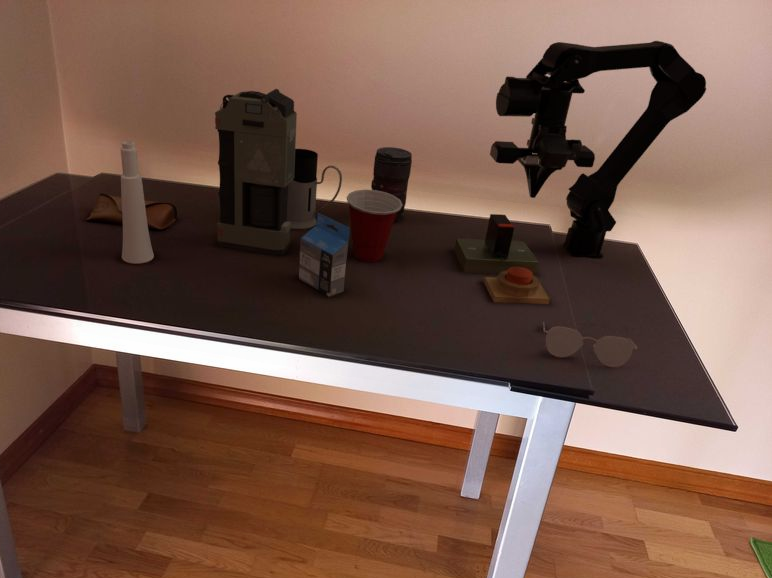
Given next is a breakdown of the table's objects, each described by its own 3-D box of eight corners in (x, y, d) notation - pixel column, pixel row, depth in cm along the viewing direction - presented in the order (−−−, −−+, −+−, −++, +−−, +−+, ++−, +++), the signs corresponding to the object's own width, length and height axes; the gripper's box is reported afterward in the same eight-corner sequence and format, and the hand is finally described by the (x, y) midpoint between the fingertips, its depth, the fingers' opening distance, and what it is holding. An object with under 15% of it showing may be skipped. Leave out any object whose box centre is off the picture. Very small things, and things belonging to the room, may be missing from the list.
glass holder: (288, 211, 158) (291, 145, 150) (345, 224, 153) (351, 156, 145) (270, 223, 152) (271, 155, 144) (329, 237, 147) (334, 167, 139)
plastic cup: (367, 272, 133) (374, 212, 126) (330, 253, 140) (334, 195, 133) (406, 259, 139) (414, 201, 133) (369, 241, 146) (375, 185, 139)
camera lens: (392, 227, 153) (400, 159, 145) (362, 217, 157) (368, 151, 149) (410, 217, 159) (419, 152, 151) (381, 208, 163) (387, 144, 155)
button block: (535, 284, 132) (539, 270, 130) (548, 304, 125) (552, 289, 123) (483, 282, 132) (486, 268, 130) (493, 302, 125) (496, 287, 123)
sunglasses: (538, 353, 110) (545, 324, 108) (537, 335, 118) (544, 308, 116) (631, 370, 107) (640, 341, 105) (624, 351, 115) (632, 323, 113)
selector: (484, 242, 141) (490, 212, 137) (499, 242, 141) (505, 213, 137) (492, 256, 135) (499, 226, 131) (508, 257, 135) (514, 226, 131)
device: (293, 243, 143) (299, 91, 127) (282, 258, 136) (287, 99, 121) (228, 233, 146) (227, 83, 130) (215, 247, 139) (211, 91, 124)
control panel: (520, 253, 144) (523, 239, 143) (535, 277, 135) (539, 262, 133) (453, 250, 144) (455, 236, 142) (464, 274, 134) (467, 259, 133)
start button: (526, 275, 129) (528, 267, 128) (533, 286, 125) (535, 277, 124) (503, 274, 129) (505, 266, 128) (509, 285, 125) (511, 276, 124)
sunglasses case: (82, 219, 147) (87, 188, 147) (97, 225, 154) (102, 195, 154) (163, 230, 144) (167, 198, 144) (174, 235, 151) (179, 205, 151)
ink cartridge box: (297, 279, 129) (300, 216, 122) (313, 274, 131) (317, 211, 125) (328, 297, 123) (333, 232, 117) (345, 292, 125) (350, 227, 119)
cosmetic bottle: (145, 248, 137) (136, 136, 125) (159, 259, 133) (151, 144, 121) (116, 255, 134) (104, 140, 122) (129, 266, 130) (118, 149, 118)
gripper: (512, 125, 123) (495, 209, 131) (616, 130, 124) (592, 213, 132) (497, 110, 132) (482, 189, 141) (593, 115, 133) (573, 194, 141)
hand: (532, 197), depth 138 cm, fingers closed
